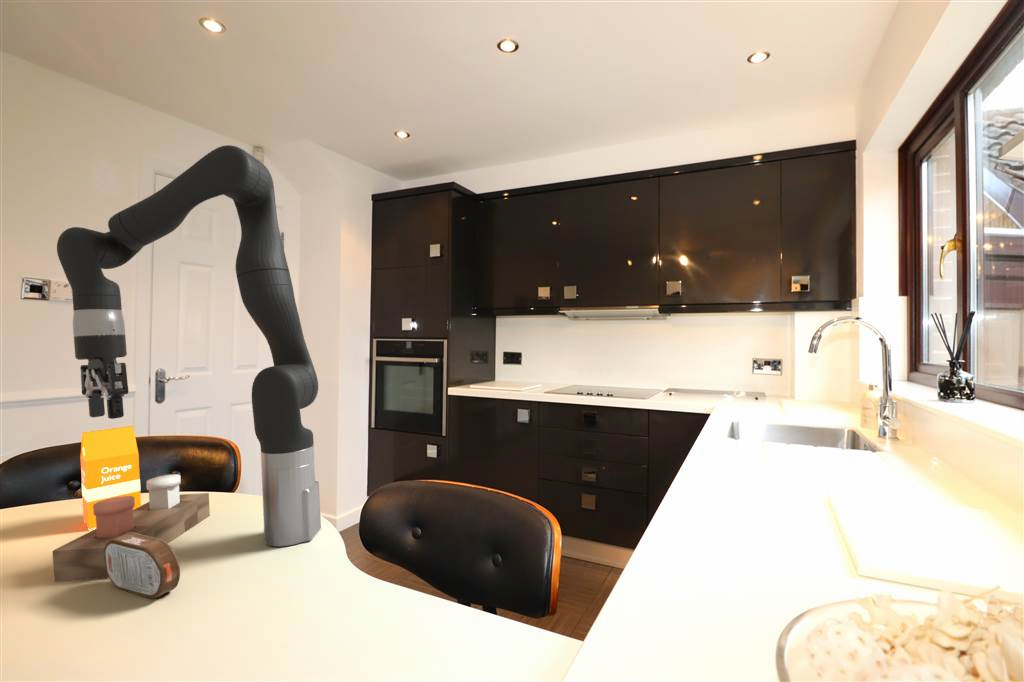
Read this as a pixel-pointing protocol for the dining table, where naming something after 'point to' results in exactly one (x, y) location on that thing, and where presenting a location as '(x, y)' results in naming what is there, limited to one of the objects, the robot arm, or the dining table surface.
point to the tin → (141, 564)
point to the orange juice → (108, 468)
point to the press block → (166, 524)
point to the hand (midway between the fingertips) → (106, 417)
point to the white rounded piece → (164, 491)
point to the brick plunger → (114, 516)
